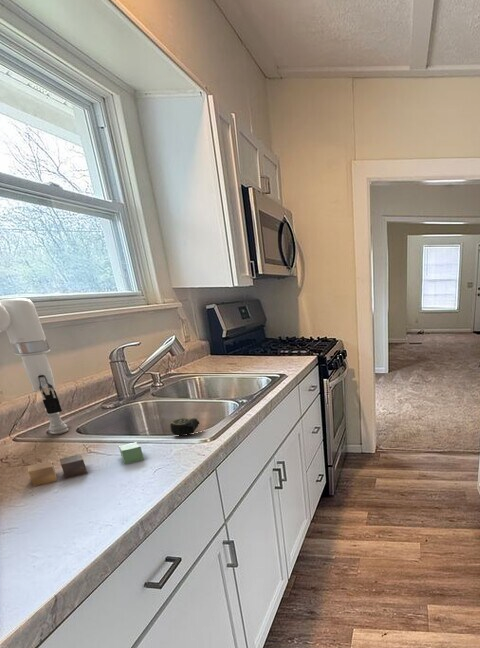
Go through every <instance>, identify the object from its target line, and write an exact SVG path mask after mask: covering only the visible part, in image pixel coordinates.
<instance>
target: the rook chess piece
mask: <svg viewBox="0 0 480 648" xmlns="http://www.w3.org/2000/svg"><path fill="white" fill-rule="evenodd" d="M44 411H45V412H46V413H47V411H46V408H45V407H44ZM47 416H48V418H49V426H48V431H49V433H50V435H60V434H65V433H68V431H69V428H68V425H67V424H66V423H65V421H63V420H62V418H61V415H60V412H57V413H52V414H48V413H47Z"/></svg>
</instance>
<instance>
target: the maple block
mask: <svg viewBox="0 0 480 648" xmlns="http://www.w3.org/2000/svg"><path fill="white" fill-rule="evenodd" d="M27 472H28V475H29V478H30V480H31V483H32V486H33V487H37V486H40V485H45V484H50V483H53V482H57V481H58V477H57V473H56V469H55V468H54V465H53V462H52V460H48V461H43V462H39V463H34V464H29V465H28V466H27Z"/></svg>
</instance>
